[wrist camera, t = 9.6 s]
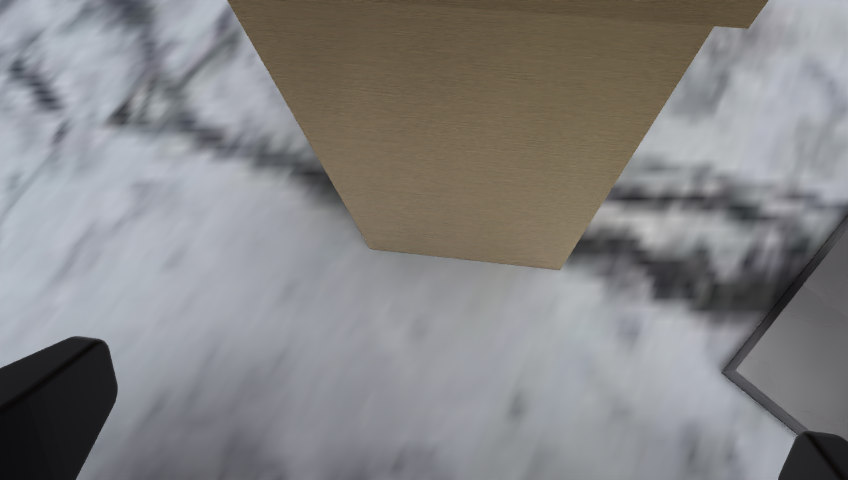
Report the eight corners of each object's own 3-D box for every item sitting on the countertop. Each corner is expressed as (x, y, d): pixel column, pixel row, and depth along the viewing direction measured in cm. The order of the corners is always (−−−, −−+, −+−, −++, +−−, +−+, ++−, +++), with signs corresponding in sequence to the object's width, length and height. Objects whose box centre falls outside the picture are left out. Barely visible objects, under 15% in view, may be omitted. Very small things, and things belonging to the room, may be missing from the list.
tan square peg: (567, 278, 16) (816, -66, 5) (361, 255, 17) (126, -107, 5) (581, 90, 18) (799, -539, 6) (390, 74, 18) (255, -533, 7)
